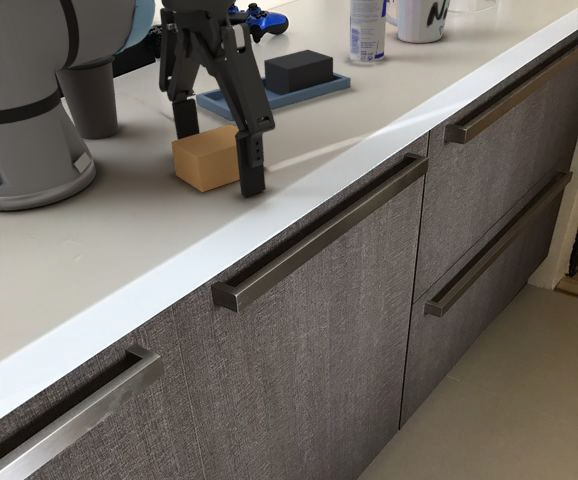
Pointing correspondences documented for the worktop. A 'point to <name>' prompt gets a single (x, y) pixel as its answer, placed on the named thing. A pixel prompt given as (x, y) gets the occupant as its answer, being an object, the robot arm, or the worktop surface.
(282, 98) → the tray
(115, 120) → the coffee cup
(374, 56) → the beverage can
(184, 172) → the tan block
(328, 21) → the worktop surface
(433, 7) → the mug
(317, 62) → the charcoal pad
